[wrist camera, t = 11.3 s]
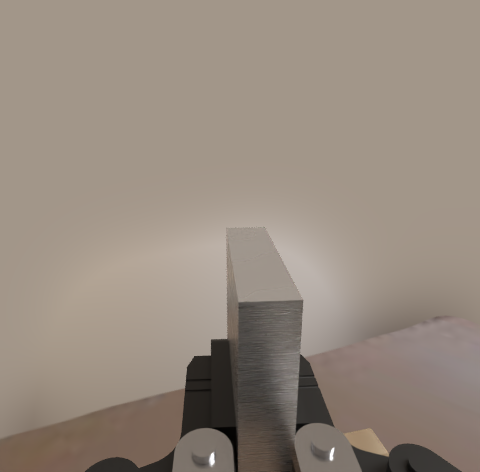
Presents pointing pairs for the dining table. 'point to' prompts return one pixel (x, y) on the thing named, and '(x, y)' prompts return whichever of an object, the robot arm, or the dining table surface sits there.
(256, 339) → the bracket
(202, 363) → the robot arm
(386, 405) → the dining table surface
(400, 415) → the dining table surface
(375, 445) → the wooden l-shaped corner
